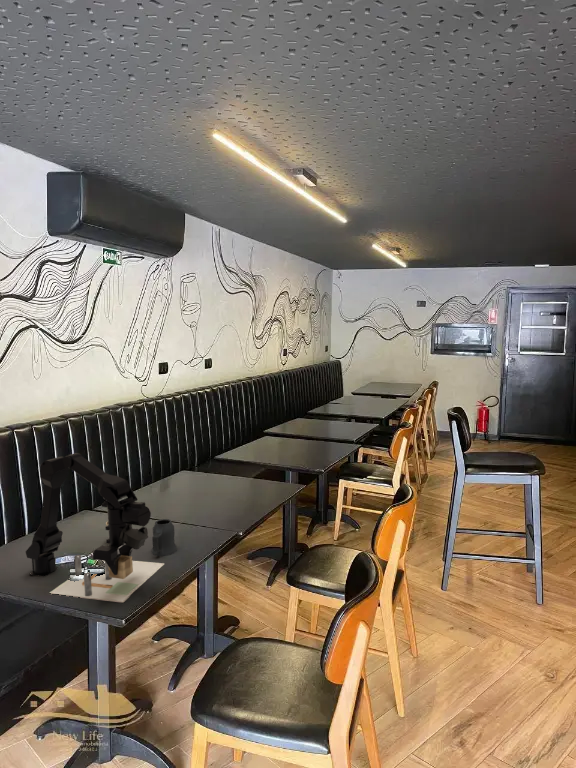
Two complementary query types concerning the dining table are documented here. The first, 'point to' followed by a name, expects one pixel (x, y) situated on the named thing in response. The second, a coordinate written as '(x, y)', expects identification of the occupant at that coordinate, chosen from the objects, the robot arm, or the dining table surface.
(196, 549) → the dining table surface
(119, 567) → the oak open box
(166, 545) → the dark grey holder
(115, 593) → the course mat
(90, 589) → the wire and posts
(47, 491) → the robot arm
